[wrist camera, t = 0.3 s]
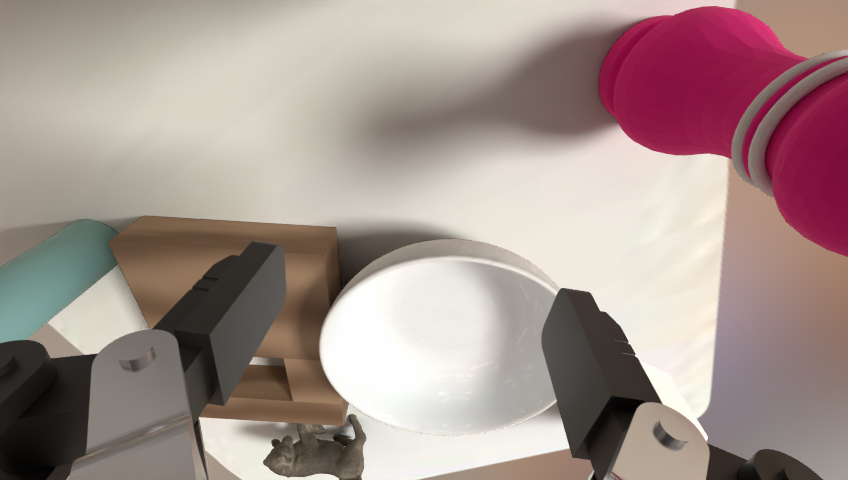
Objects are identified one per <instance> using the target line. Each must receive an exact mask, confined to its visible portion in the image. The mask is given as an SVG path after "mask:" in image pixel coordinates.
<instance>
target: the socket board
mask: <svg viewBox="0 0 848 480" xmlns="http://www.w3.org/2000/svg"><path fill="white" fill-rule="evenodd" d="M254 240H257V241H263V242H270V243H276V244H282V245H283V248H284V255H285V272H286V296H285V300H284V303H283V306H282V308H281V310H280V312H279V313H278V315H277V317H276V318H275V320H274V322H273V324H272V325H271V327H270V329H269V330H268V332H267V334H266V336H265V337H264V339H263V341H262V343H261V344H260V346H259V348H258V349H257V351H256V353H255V355H254V356H253V357H269V358H283V359H284V364H285V367H277V366H261V365H248V367H247V368H246V370H245V372H244V374H243V375H242V377H241V379H240V380H239V382H238V384H237V386H236V387H235V389H234V391H233V393H232V394H231V396H230V398H229V399H228V401H227V403H226V405H225V406H220V405H213V404H207V405H206V407H205V408H204V410H203V412H202V413H201V415H200V416H199V417H206V418H222V419H238V420H254V421H270V422H286V423H302V424H318V425H334V426H344V422H345V417H346V413H347V409H348V404H349V403H348V402H347V401H346V400H345V399H344V398H342V396H341V395H340V394H339V393H338V392H337V391H336V390H335V389H334V387H333V386H332V385H331V383H330V382H329V380H328V378H327V376H326V374H325V372H324V370H323V367H322V364H321V360H320V355H319V338H320V333H321V328H322V325H323V322H324V320H325V317H326V315H327V314H328V312H329V310H330V308H331V306H332V305H333V303H334V302H335V300H336V298H337V297H338V295H339V294H340V292H341V291H342V286H341V274H340V263H339V252H338V241H337V230H336V227H321V226H305V225H288V224H272V223H255V222H239V221H222V220H206V219H189V218H173V217H156V216H143V217H141V218H140V219H139V220H137V221H136V222H134V223H133V224H132V225H130V226H129V227H128V228H126V229H125V230H123V231H122V232H121V233H119V234H118V235H117V236H115V237H114V238H112V239H111V240H110V241H108V243H109V246H110V248H111V250H112V252H113V254H114V256H115V258H116V260H117V262H118V264H119V266H120V268H121V270H122V272H123V274H124V276H125V279H126V281H127V283H128V285H129V287H130V289H131V291H132V293H133V295H134V297H135V299H136V301H137V303H138V305H139V307H140V310H141V312H142V314H143V316H144V318H145V320H146V322H147V324H148V326H149V328H150V330H151V329H152V328H153V327H154V326H155V325H156V324H157V323H158V322H159V321H160V320H161V319H162V318H163V317H164V316H165V315H166V314H167V313H168V312H169V311H170V309H171V308H172V307H173V306H174V305H175V304H176V303H177V302H178V301H179V300H180V299H181V298H182V297H183V296H184V295H185V294H186V293H187V292H188V291H189V290H192V287H193V285H194V284H195V283H196V282H197V281H198V280H199V279H202V276H203V275H204V274H205V273H206V272H207V271H208V270H209V269H210V268H211V267H212V266H213V265H214V264H215V263H217V262H219V261H221V260H223V259H224V258H226V257H228V256H230V255H237V256H239V255H240V254H241V253H242V252H243V251H244V250H245V249H246V247H247V246H248V245H249V244H250V243H251V242H252V241H254Z"/></svg>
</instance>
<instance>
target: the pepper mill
mask: <svg viewBox="0 0 848 480" xmlns="http://www.w3.org/2000/svg"><path fill="white" fill-rule="evenodd" d="M599 94H600V98H601V101H602V103H603V105H604V107H605V108H606V109H607V111H608V112H609V113H610V114H611V115H613V116H614V117H616V118H617V120H618V123H619V125H620V126H621V128H622V130H623V131H624V132H625V133H626V135H627V136H628V137H630V138H631V139H632V140H633V141H635V142H637V143H639V144H640V145H642V146H644V147H646V148H648V149H651V150H653V151H657V152H661V153H666V154H672V155H694V154H707V153H709V154H716V155H722V156H725V157H727V158H730V159H732V162H733V165H734V168H735V169H736V171H737V173H738V174H739V176H740V177H741V178H742V179H743V180H744V181H745V182H747V183H748V184H750V185H752V186H754V187H757V188H759V189H760V190H761V191H762V192H764V193H766V194H767V195H769V196H771V197H773V198H775V200H776V203H777V206H778V209H779V211H780V213H781V214H782V216H783V217H784V219H785V221H786V222H787V223H788V224H789V225H790V226H792V227H793V228H794V229H795V230H796V231H798V232H799V233H800V234H801V235H803V237H805V238H807V239H809V240H810V241H812V242H814V243H816V244H818V245H820V246H821V247H823V248H825V249H827V250H830V251H833V252H835V253H838V254H841V255H844V256H847V257H848V49H845V50H836V51H832V52H828V53H823V54H820V55H818V56H815V57H812V58H810V59H808V58H805V57H802V56H798V55H795V54H793V53H792V52H790V51H789V50H787V49H785V48H784V47H783V45H782V44H781V42H780V41H779V40H778V38H777V36H776V35H775V34H774V32H773V31H772V30H771V29H770V27H769V26H767V25H766V24H765V23H763V22H762V21H760V20H759V19H757V18H756V17H754V16H752V15H751V14H748V13H746V12H743V11H740V10H737V9H731V8H724V7H717V6H708V7H699V8H694V9H690V10H686V11H684V12H681V13H678V14H676V15H674V16H670V15H664V16H656V17H653V18H649V19H646V20H644V21H642V22H640V23H638V24H636V25H635V26H633V27H632V28H630V29H629V30H628V31H626V32H625V33H624V34H623V35H622V36H621V37H620V38H619V39H618V40H617V41H616V43H615V44H614V45H613V46H612V48H611V49H610V51H609V52H608V54H607V56H606V58H605V60H604V62H603V65H602V68H601V71H600V76H599Z"/></svg>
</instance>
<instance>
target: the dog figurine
mask: <svg viewBox="0 0 848 480" xmlns="http://www.w3.org/2000/svg"><path fill="white" fill-rule="evenodd" d="M349 420H350V423H351V424H352V425H353V428H354V432H355V439H354V440H352V439H349V438H346V437H341V436H335V437H333V439H334V441H328V440H319V439H316V438H315V436H314V434H313V432H314V433H316V434H323V433H325V432H326V430H325V429H324V428H323V426H322V425H318V424H302V423H299V424H298V426H297V431H298V432H299V437H300V440H299V441H297V442H296V443H295V444H293V439H292V438H291V437H290V436H286V437H284V438H283V439H282V442H280V441H279V440H278V439H273V440H272V442H271V443H272V446H273V447H274V448H273V449H272V450H271V452H270V454H269V455H268V456H267V457H266V459H265V460H264V461H263V464H264V465H265V466H267V467H268V468H269V469H270V470H271V471H273V472H274V473H276V474H278V475H282V476H286V477H306V476H310V475H314V474H320V473H323V474H331V475H334V476H336V477H338V478H339V480H362V478H361V475H362V472H363V469H364V458H363V445H364V443H365V441H366V435H365V433H364V432H363V430H362V428H361V425H360V423H359V422H358V420H357V418H356V416H355V415H354V414H351V415H350V416H349ZM344 446H345V447H344Z"/></svg>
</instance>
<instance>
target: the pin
mask: <svg viewBox="0 0 848 480" xmlns="http://www.w3.org/2000/svg"><path fill="white" fill-rule="evenodd" d="M117 235H118V233H117V232H116V231H114V230H113V229H112V228H110V227H109V226H107V225H105V224H103V223H101V222H98V221H95V220H89V219H83V220H78V221H76V222H74V223H73V224H71V225H69V226H68V227H66V228H64V229H63V230H61V231H60V232H58V233H56V234H55V235H53V236H51V237H50V238H48V239H46V240H45V241H43V242H41V243H40V244H38V245H36V246H35V247H33V248H31V249H30V250H28V251H26V252H25V253H23V254H21V255H20V256H18V257H17V258H15V259H13V260H12V261H10V262H8V263H7V264H5V265H3V266H2V267H0V343H3V342H8V341H15V340H26V339H27V338H29V337H30V336H31V335H32V334H33V333H35V332H36V331H37V330H38V329H40V328H41V327H42V326H43V325H44V324H46V323H47V322H48V321H49V320H51V319H52V318H53V317H54V316H55V315H57V314H58V313H59V312H60V311H62V310H63V309H64V308H65V307H66V306H68V305H69V304H70V303H71V302H73V301H74V300H75V299H76V298H78V297H79V296H80V295H81V294H82V293H84V292H85V291H86V290H87V289H89V288H90V287H91V286H92V285H93V284H95V283H96V282H97V281H98V280H100V279H101V278H102V277H103V276H104V275H106V274H107V273H108V272H109V271H111V270H112V269H113V268H114V267H115V266H117V265H118V262H117V260H116V258H115V256H114V254H113V252H112V250H111V248H110V246H109V243H108V241H110V240H111V239H112V238H114V237H115V236H117Z"/></svg>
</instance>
